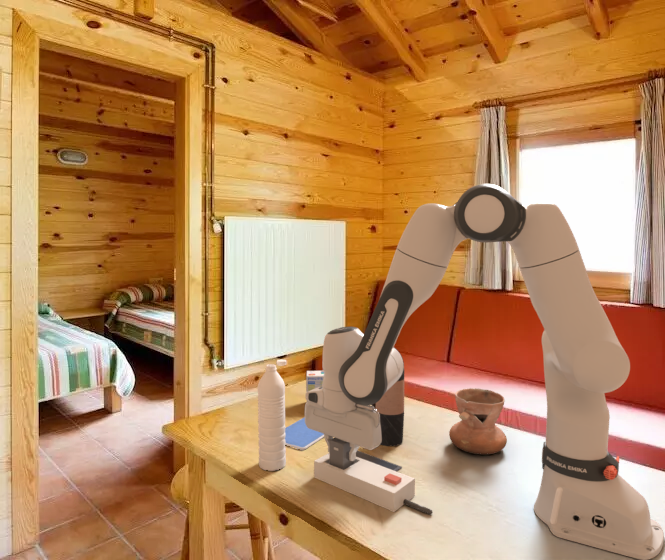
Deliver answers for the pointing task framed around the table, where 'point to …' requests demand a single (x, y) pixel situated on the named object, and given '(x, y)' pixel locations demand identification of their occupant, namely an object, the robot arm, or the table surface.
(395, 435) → the travel mug
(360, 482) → the power strip
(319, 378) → the light bulb box
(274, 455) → the water bottle
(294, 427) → the tablet computer
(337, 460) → the block
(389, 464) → the phone
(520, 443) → the table surface
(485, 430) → the ceramic jug
